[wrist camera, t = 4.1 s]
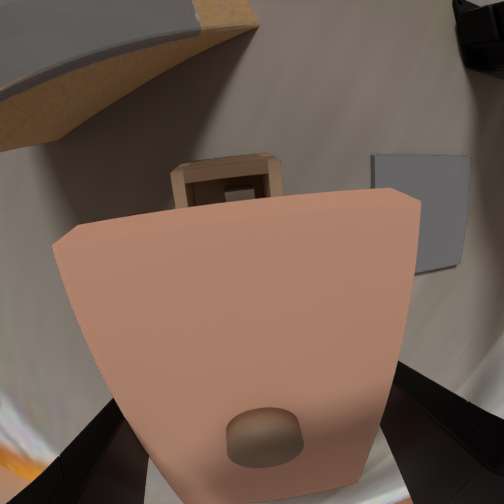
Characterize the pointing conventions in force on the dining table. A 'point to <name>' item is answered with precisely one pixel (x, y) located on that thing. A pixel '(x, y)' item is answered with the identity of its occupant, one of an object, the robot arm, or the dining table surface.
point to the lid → (249, 334)
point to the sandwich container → (96, 55)
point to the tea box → (226, 180)
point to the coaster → (431, 201)
